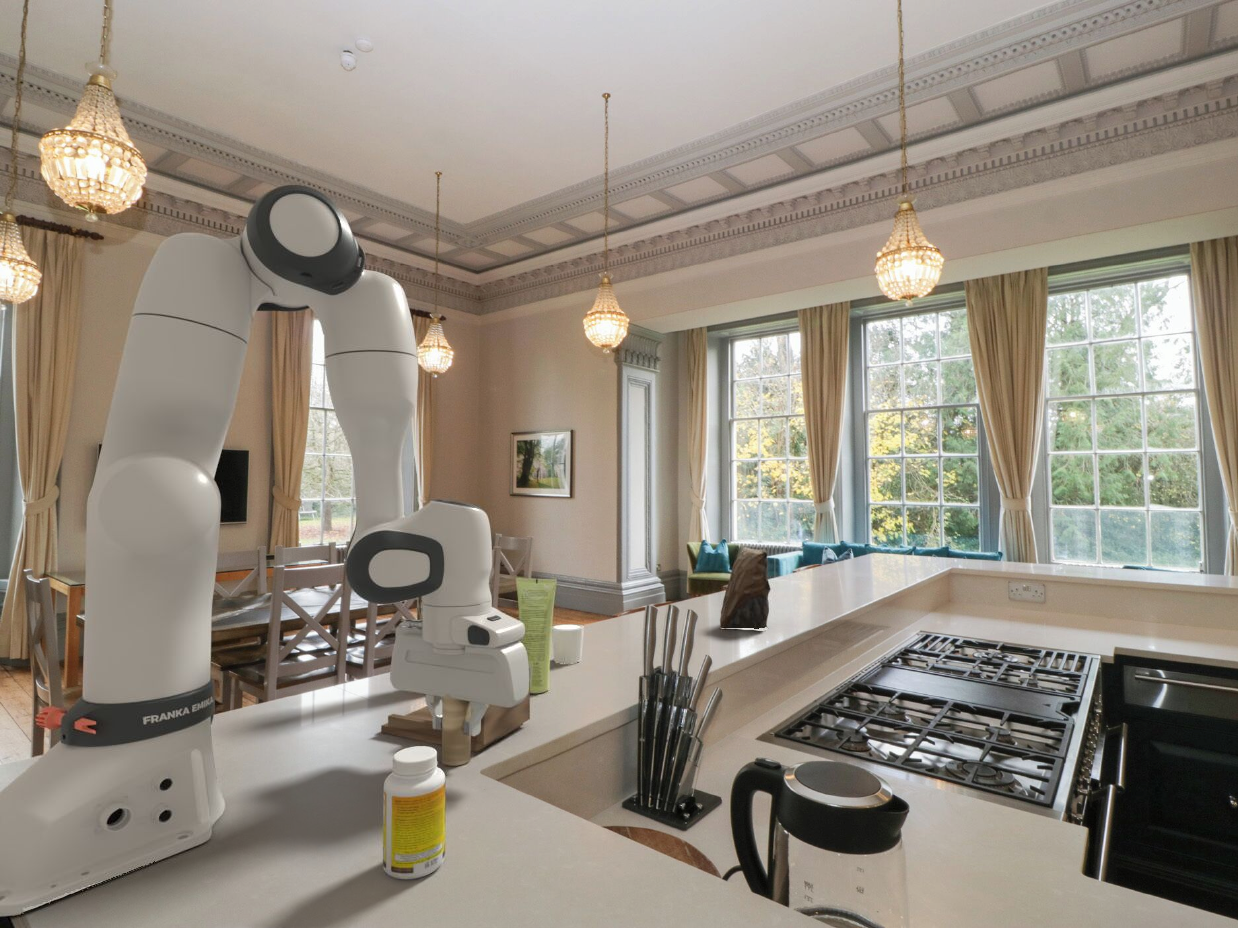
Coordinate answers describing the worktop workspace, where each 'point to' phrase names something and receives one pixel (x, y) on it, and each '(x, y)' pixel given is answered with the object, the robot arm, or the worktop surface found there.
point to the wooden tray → (492, 728)
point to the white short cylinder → (567, 643)
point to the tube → (537, 627)
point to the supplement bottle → (414, 814)
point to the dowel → (455, 731)
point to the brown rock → (747, 592)
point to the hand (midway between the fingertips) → (456, 731)
